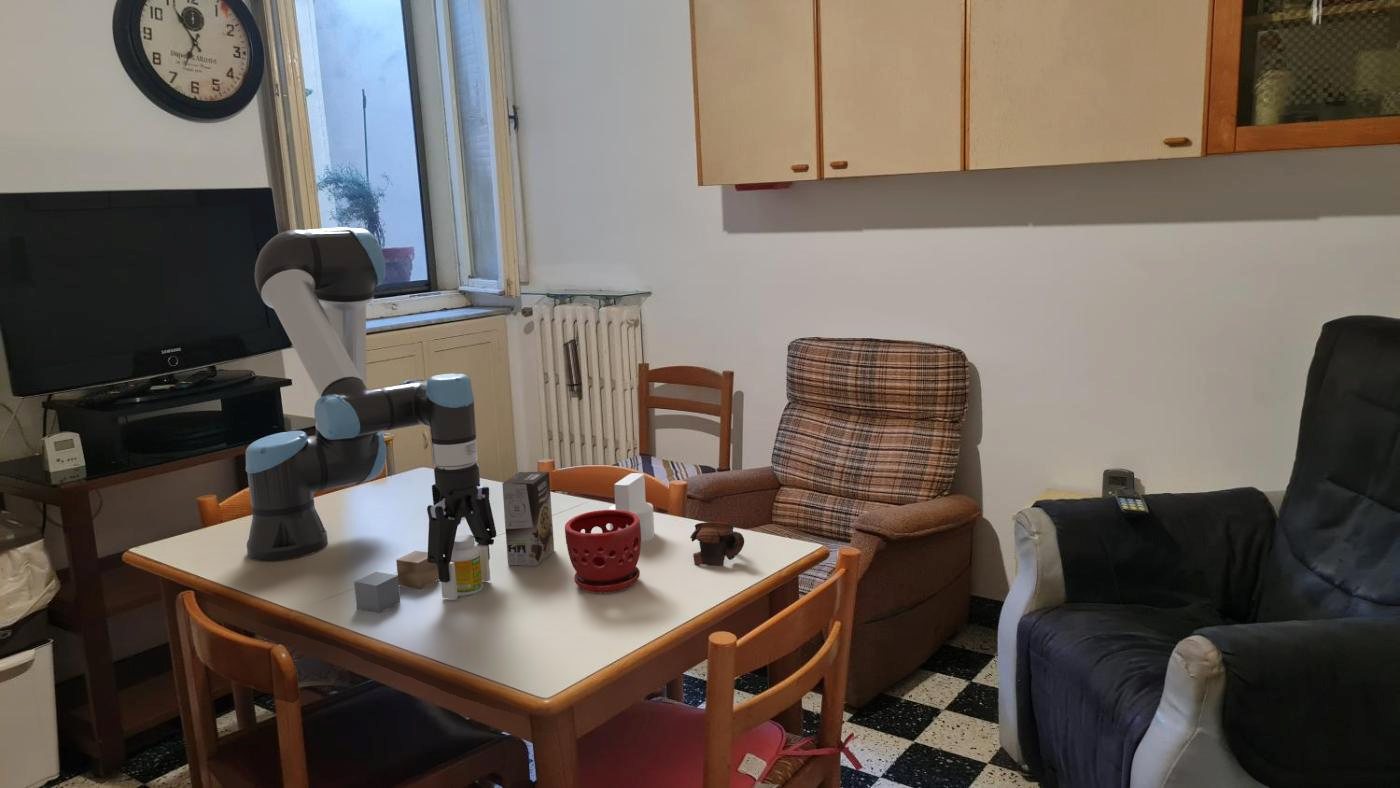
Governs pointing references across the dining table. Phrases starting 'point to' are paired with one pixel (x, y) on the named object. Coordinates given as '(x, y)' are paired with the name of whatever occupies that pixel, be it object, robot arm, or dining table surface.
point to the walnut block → (416, 570)
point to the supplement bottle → (466, 565)
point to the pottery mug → (716, 543)
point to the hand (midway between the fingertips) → (466, 588)
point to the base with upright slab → (634, 503)
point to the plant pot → (604, 550)
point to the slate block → (377, 592)
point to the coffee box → (528, 518)
